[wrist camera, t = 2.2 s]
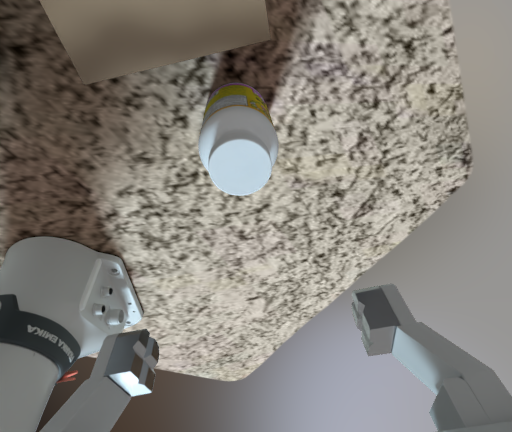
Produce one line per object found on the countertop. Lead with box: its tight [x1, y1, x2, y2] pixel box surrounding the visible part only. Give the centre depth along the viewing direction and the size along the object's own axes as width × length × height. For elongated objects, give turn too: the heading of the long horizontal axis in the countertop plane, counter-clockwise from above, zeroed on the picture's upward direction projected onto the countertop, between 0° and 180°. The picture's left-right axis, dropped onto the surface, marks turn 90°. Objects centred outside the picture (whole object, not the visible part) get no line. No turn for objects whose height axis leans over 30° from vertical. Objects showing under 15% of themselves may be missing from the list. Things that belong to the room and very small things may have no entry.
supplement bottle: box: [199, 83, 278, 196], centre depth 26 cm, size 7×7×13 cm
